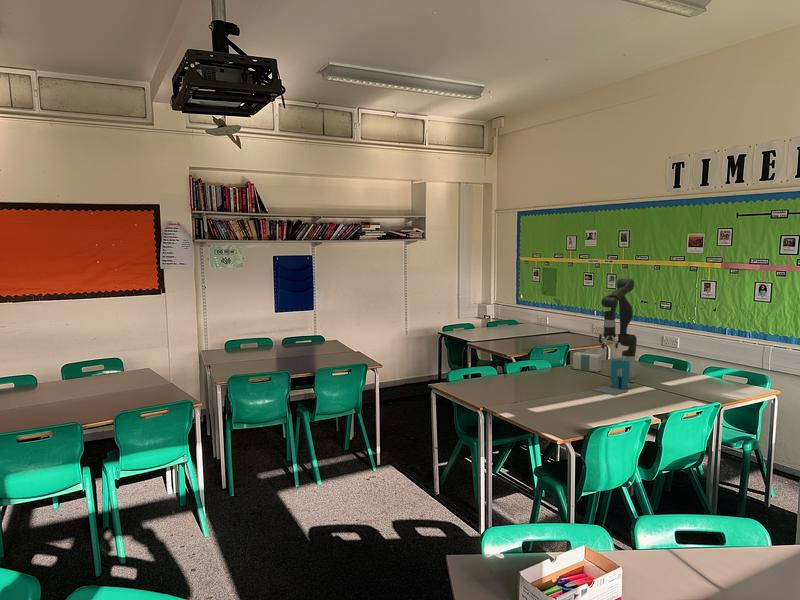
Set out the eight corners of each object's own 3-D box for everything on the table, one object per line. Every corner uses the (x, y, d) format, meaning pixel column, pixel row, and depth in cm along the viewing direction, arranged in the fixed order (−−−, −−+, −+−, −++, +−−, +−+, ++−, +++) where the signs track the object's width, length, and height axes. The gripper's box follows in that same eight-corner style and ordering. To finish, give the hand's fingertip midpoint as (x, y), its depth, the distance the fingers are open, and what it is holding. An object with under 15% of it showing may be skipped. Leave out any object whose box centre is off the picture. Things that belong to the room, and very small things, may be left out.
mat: (604, 386, 392) (604, 385, 392) (627, 391, 378) (627, 390, 378) (591, 390, 384) (591, 389, 384) (615, 395, 369) (615, 394, 369)
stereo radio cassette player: (572, 369, 446) (572, 345, 444) (576, 367, 452) (576, 343, 450) (598, 373, 433) (598, 347, 431) (601, 371, 439) (602, 346, 437)
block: (628, 387, 388) (629, 359, 386) (629, 389, 384) (629, 361, 382) (610, 386, 392) (610, 358, 390) (610, 388, 387) (611, 360, 385)
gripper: (619, 324, 388) (619, 347, 390) (597, 325, 391) (598, 347, 393) (621, 326, 381) (621, 349, 383) (599, 326, 383) (600, 349, 385)
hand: (609, 348), depth 388 cm, fingers open, 8 cm apart
